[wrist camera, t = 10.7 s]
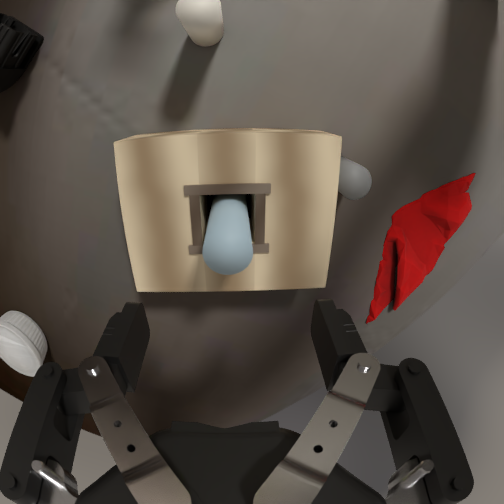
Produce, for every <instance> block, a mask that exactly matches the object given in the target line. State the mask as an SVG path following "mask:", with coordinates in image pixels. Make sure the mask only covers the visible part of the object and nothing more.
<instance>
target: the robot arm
mask: <svg viewBox="0 0 504 504" xmlns="http://www.w3.org/2000/svg"><path fill="white" fill-rule="evenodd" d="M311 336H312V340H313V343H314V347H315V350H316V353H317V357H318V360H319V364H320V367H321V371H322V374H323V378H324V382H325V385H326V389H327V391H329V392H328V394H327V395H326V397H325V398H324V400H323V402H322V403H321V405H320V407H319V408H318V410H317V411H316V413H315V415H314V416H313V418H312V419H311V421H310V422H309V424H308V425H307V427H306V428H305V430H304V431H303V433H302V434H299V433H297V432H294V431H291V430H288V429H284V428H279V423H278V421H269V422H251V423H248V424H243V425H239V426H235V427H231V428H226V429H224V428H218V427H214V426H210V425H206V424H202V423H198V422H178V421H172V427H171V428H169V429H165V430H161V431H159V432H156V433H154V434H152V435H151V436H149V437H148V435H147V434H146V432H145V430H144V429H143V427H142V426H141V424H140V422H139V421H138V419H137V417H136V416H135V414H134V412H133V411H132V409H131V407H130V405H129V404H128V402H127V400H126V398H125V394H126V392H135V388H136V384H137V381H138V377H139V373H140V370H141V366H142V363H143V359H144V356H145V352H146V349H147V345H148V342H149V338H150V329H149V325H148V321H147V317H146V313H145V310H144V306H143V304H142V303H137V302H127V303H126V304H125V306H124V308H123V310H122V312H121V313H119V312H117V313H116V314H115V315H114V316H112V317H111V318H110V320H109V322H108V324H107V326H106V328H105V330H104V332H103V335H102V337H101V339H100V341H99V343H98V345H97V348H96V350H95V352H94V354H93V356H91V357H88V358H86V359H84V360H83V361H82V362H81V363H80V365H79V367H78V368H73V369H66V370H62V368H61V367H60V365H59V364H57V363H55V362H48V363H45V364H43V365H42V366H40V367H39V369H38V370H37V372H36V374H35V376H34V378H33V381H32V383H31V385H30V388H29V390H28V392H27V395H26V397H25V399H24V402H23V404H22V407H21V410H20V412H19V415H18V418H17V420H16V423H15V426H14V428H13V431H12V434H11V437H10V440H9V443H8V446H7V450H6V453H5V456H4V460H3V463H2V467H1V470H0V490H1V492H2V493H3V495H4V496H5V497H7V498H8V499H10V500H12V501H13V502H15V503H17V504H456V503H458V502H460V501H462V500H463V499H465V498H466V497H467V496H468V495H469V494H470V493H471V491H472V489H473V485H474V480H473V476H472V473H471V470H470V467H469V464H468V461H467V459H466V456H465V453H464V451H463V448H462V445H461V443H460V440H459V437H458V435H457V432H456V430H455V428H454V425H453V423H452V420H451V418H450V416H449V414H448V411H447V409H446V407H445V404H444V402H443V400H442V398H441V396H440V393H439V391H438V389H437V387H436V385H435V383H434V381H433V378H432V376H431V375H430V372H429V370H428V368H427V366H426V365H425V364H424V363H423V362H422V361H420V360H418V359H414V358H407V359H404V360H403V361H402V362H401V363H400V364H399V366H392V365H384V364H380V363H379V361H378V359H376V357H374V356H373V355H371V354H368V353H367V351H366V349H365V347H364V344H363V342H362V340H361V338H360V336H359V333H358V331H357V329H356V327H355V325H354V323H353V321H352V319H351V317H350V315H349V314H348V313H347V312H345V311H344V310H343V309H336V307H335V305H334V302H333V300H332V299H324V300H316V301H315V304H314V310H313V317H312V323H311ZM330 390H331V391H330ZM363 410H373V411H380V413H381V416H382V419H383V422H384V426H385V430H386V433H387V437H388V440H389V444H390V448H391V451H392V455H393V459H394V463H395V466H396V470H397V471H396V472H395V473H394V474H393V475H392V476H391V478H390V479H389V483H388V494H387V497H386V498H385V499H384V498H383V497H382V496H381V495H380V494H379V493H378V492H376V491H375V490H374V489H372V488H371V487H369V486H368V485H366V484H365V483H364V482H362V481H361V480H360V479H358V478H357V477H355V476H354V475H353V474H351V473H350V472H349V471H347V470H346V469H345V468H343V467H342V466H341V465H339V464H338V463H337V460H338V459H339V457H340V455H341V453H342V451H343V450H344V448H345V446H346V444H347V442H348V440H349V438H350V436H351V434H352V433H353V430H354V428H355V427H356V425H357V422H358V420H359V418H360V416H361V414H362V412H363ZM85 413H92V416H93V418H94V420H95V422H96V425H97V427H98V429H99V431H100V433H101V435H102V437H103V439H104V442H105V444H106V446H107V448H108V449H109V451H110V453H111V455H112V457H113V459H114V461H115V463H116V465H115V466H114V467H112V468H111V469H110V470H109V471H107V472H106V473H105V474H104V475H102V476H101V477H100V478H99V479H98V480H96V481H95V482H94V483H93V484H91V485H90V486H89V487H88V488H86V489H85V490H84V491H83V492H81V493H80V495H78V490H77V482H76V480H75V478H74V476H73V475H72V474H71V471H72V466H73V461H74V456H75V452H76V447H77V443H78V438H79V434H80V430H81V426H82V422H83V418H84V415H85Z"/></svg>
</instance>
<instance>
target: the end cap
mask: <svg viewBox="0 0 504 504" xmlns="http://www.w3.org/2000/svg"><path fill="white" fill-rule="evenodd" d="M43 40H44V37H43V36H42V35H40V34H39V33H37V32H36V31H34V30H33V29H31V28H29V27H28V26H26V25H25V24H23V23H22V22H20V21H19V20H17V19H15V18H14V17H12V16H7V15H5V14H2V13H0V92H3V91H5V90H6V89H8V88H9V87H11V86H12V85H13V84H14V83H15V82H16V81H17V80H18V79H19V78H20V76H21V75H22V74H23V72H24V71H25V69H26V68H27V67H28V65H29V63H30V62H31V60H32V58H33V57H34V55H35V53H36V52H37V50H38V49H39V47H40V46H41V44H42V42H43Z"/></svg>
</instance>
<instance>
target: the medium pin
mask: <svg viewBox="0 0 504 504" xmlns="http://www.w3.org/2000/svg"><path fill="white" fill-rule="evenodd" d="M176 15H177V17H178V19H179V20H180V22H181V24H182V25H183V27H184V28H185V30H186V32H187V33H188V35H189V36H190V38H191V40H192V41H193V42H194V43H195V44H197V45H199V46H203V47H207V46H212V45H214V44H216V43H218V42H219V41H220V40H221V38H222V37H223V34H224V27H223V19H222V11H221V3H220V0H179V1H178V3H177V5H176Z"/></svg>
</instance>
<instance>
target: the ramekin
mask: <svg viewBox="0 0 504 504" xmlns="http://www.w3.org/2000/svg"><path fill="white" fill-rule="evenodd" d="M46 352H47V341H46V337H45V335H44V333H43V331H42V330H41V328H40V327H39V326H38V325H37V324H36V322H35V321H33V320H32V319H31V318H30V317H29V316H27V315H26V314H24V313H22V312H19V311H9V312H7V313H5V314H4V315H3V316H1V317H0V357H1V358H2V359H3V360H4V361H5V362H6V363H7V364H8V365H9V366H11V367H12V368H13V369H15V370H16V371H18V372H20V373H22V374H24V375H28V376H35V374H36V372H37V370H38V369H39V367H40V366H42V365H43V361H44V358H45V355H46Z"/></svg>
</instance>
